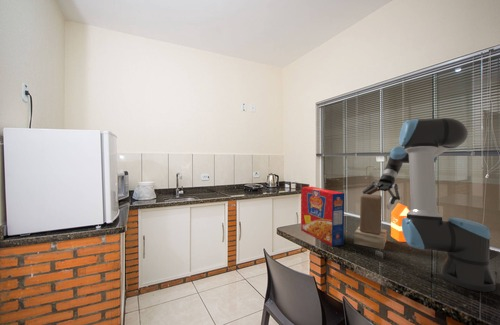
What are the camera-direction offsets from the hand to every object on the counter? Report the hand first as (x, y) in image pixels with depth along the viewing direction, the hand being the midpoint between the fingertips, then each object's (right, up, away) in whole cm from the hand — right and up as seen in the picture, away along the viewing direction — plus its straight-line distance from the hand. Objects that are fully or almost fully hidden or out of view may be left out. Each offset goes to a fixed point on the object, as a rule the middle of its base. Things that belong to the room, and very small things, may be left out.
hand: (375, 205), depth 130 cm
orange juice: (+17, -20, +2) cm, 26 cm away
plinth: (-4, -20, -3) cm, 20 cm away
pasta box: (-30, -20, +5) cm, 36 cm away
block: (-4, -14, -3) cm, 15 cm away
